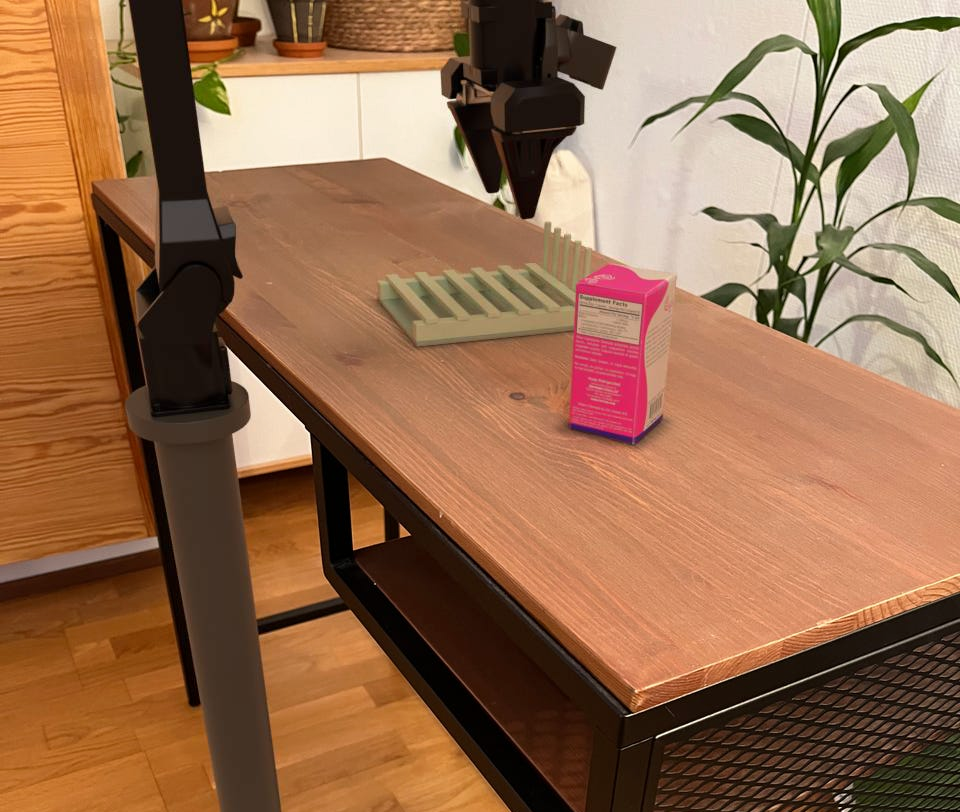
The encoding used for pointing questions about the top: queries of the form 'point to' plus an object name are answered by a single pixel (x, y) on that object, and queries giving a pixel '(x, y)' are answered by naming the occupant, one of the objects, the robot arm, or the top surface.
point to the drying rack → (488, 299)
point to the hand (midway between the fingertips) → (509, 205)
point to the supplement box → (621, 351)
